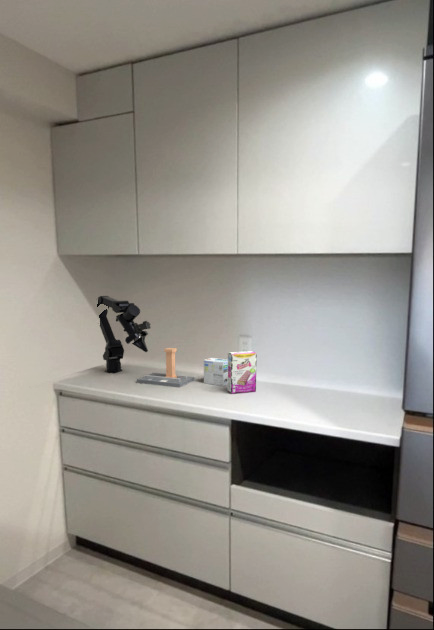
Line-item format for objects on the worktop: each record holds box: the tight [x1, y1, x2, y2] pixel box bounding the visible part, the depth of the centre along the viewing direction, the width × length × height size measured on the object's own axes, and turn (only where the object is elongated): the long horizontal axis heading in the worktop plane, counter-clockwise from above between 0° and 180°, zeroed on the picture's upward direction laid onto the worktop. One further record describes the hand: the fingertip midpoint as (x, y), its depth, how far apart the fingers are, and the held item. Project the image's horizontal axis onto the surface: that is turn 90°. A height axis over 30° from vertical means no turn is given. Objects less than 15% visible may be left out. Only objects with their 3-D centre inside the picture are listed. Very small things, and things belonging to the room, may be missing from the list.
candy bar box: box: [227, 350, 258, 395], centre depth 178 cm, size 11×5×16 cm, turn 109°
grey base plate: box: [136, 371, 195, 388], centre depth 197 cm, size 22×14×3 cm, turn 66°
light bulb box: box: [203, 357, 228, 387], centre depth 193 cm, size 11×7×11 cm, turn 58°
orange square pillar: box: [163, 347, 178, 378], centre depth 195 cm, size 4×4×13 cm
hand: (147, 351), depth 205 cm, fingers closed
